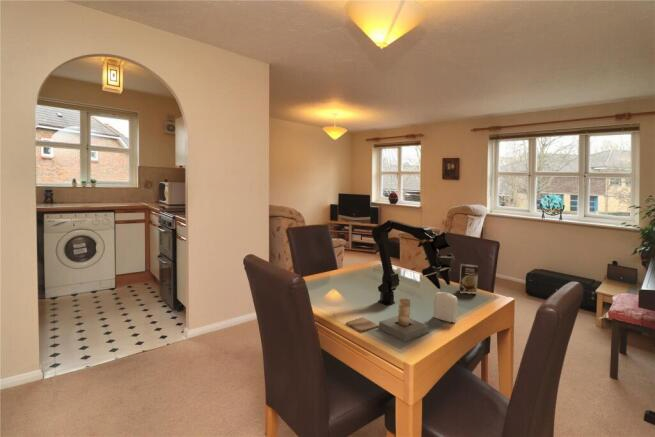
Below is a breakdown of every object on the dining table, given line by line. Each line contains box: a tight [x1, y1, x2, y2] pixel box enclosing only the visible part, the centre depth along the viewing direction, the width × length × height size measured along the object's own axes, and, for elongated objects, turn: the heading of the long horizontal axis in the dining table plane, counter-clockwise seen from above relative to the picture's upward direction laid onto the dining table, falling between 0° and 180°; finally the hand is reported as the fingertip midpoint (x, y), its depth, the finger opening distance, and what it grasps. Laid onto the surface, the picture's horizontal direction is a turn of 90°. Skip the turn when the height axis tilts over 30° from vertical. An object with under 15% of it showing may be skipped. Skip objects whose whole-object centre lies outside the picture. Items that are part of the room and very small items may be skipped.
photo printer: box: [433, 291, 458, 323], centre depth 152 cm, size 10×4×12 cm, turn 47°
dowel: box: [397, 297, 411, 327], centre depth 138 cm, size 4×4×13 cm
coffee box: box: [458, 263, 479, 293], centre depth 193 cm, size 9×6×16 cm
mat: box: [345, 317, 379, 333], centre depth 143 cm, size 10×10×1 cm
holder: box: [378, 315, 429, 342], centre depth 139 cm, size 14×14×3 cm
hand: (444, 286), depth 150 cm, fingers open, 9 cm apart
